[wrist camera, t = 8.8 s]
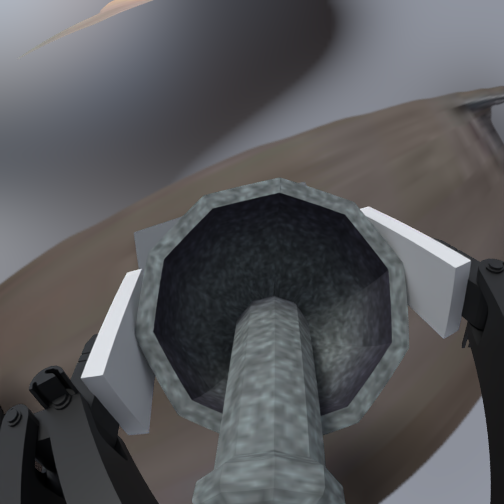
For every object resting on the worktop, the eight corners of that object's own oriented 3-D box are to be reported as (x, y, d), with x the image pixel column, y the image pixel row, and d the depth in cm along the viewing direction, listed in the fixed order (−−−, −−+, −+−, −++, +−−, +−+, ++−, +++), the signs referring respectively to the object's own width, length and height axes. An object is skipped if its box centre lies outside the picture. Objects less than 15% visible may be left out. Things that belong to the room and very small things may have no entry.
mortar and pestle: (198, 243, 18) (122, 78, 7) (350, 250, 17) (441, 93, 6) (179, 429, 14) (34, 510, 3) (348, 437, 13) (483, 527, 2)
